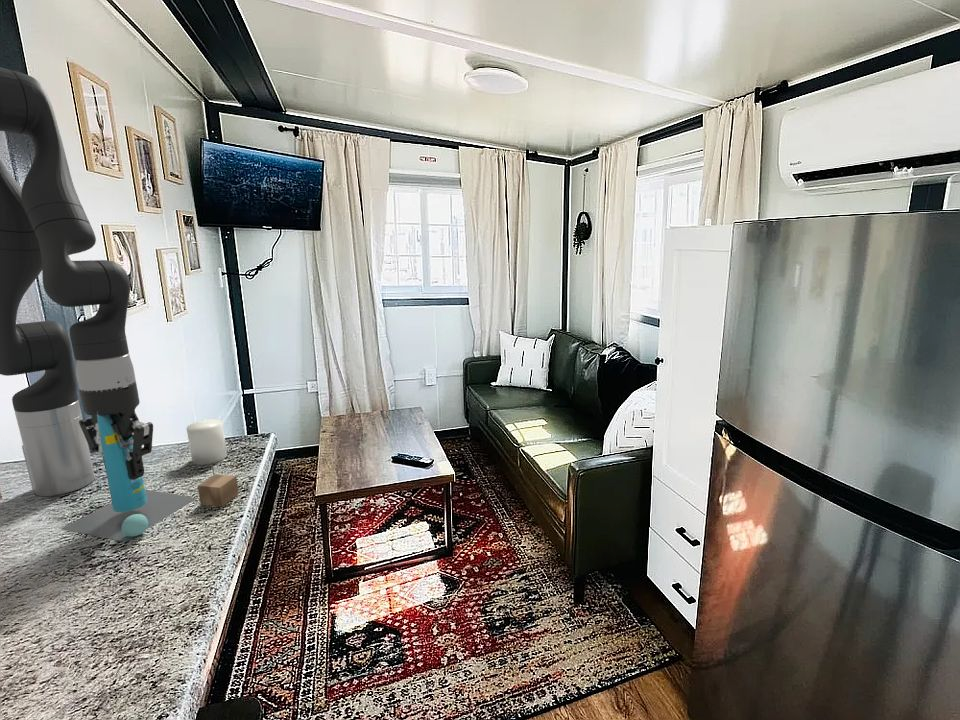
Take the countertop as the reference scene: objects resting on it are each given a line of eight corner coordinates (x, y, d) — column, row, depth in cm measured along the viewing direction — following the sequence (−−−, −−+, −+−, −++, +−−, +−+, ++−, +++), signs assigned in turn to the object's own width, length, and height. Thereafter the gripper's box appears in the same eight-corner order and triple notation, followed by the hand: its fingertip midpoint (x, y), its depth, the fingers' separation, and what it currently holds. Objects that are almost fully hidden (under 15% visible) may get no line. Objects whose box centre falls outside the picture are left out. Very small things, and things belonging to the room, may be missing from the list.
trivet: (61, 531, 78) (61, 528, 78) (140, 491, 91) (140, 488, 91) (125, 545, 75) (125, 541, 74) (198, 500, 88) (197, 498, 88)
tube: (135, 515, 79) (115, 409, 75) (103, 518, 78) (80, 411, 74) (155, 493, 86) (137, 395, 82) (126, 496, 85) (106, 397, 81)
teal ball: (118, 539, 75) (114, 520, 74) (138, 527, 78) (135, 508, 78) (135, 542, 74) (131, 523, 73) (155, 530, 77) (151, 511, 77)
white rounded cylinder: (185, 464, 103) (179, 431, 101) (205, 450, 110) (200, 418, 107) (215, 465, 102) (209, 432, 100) (233, 451, 109) (228, 419, 107)
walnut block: (197, 485, 85) (219, 487, 84) (214, 474, 89) (236, 476, 88) (201, 507, 86) (222, 509, 85) (218, 495, 90) (239, 497, 89)
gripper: (51, 385, 75) (72, 480, 79) (118, 392, 72) (137, 491, 76) (98, 373, 82) (116, 461, 86) (161, 379, 79) (177, 471, 83)
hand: (125, 475), depth 81 cm, fingers closed on tube, 4 cm apart
